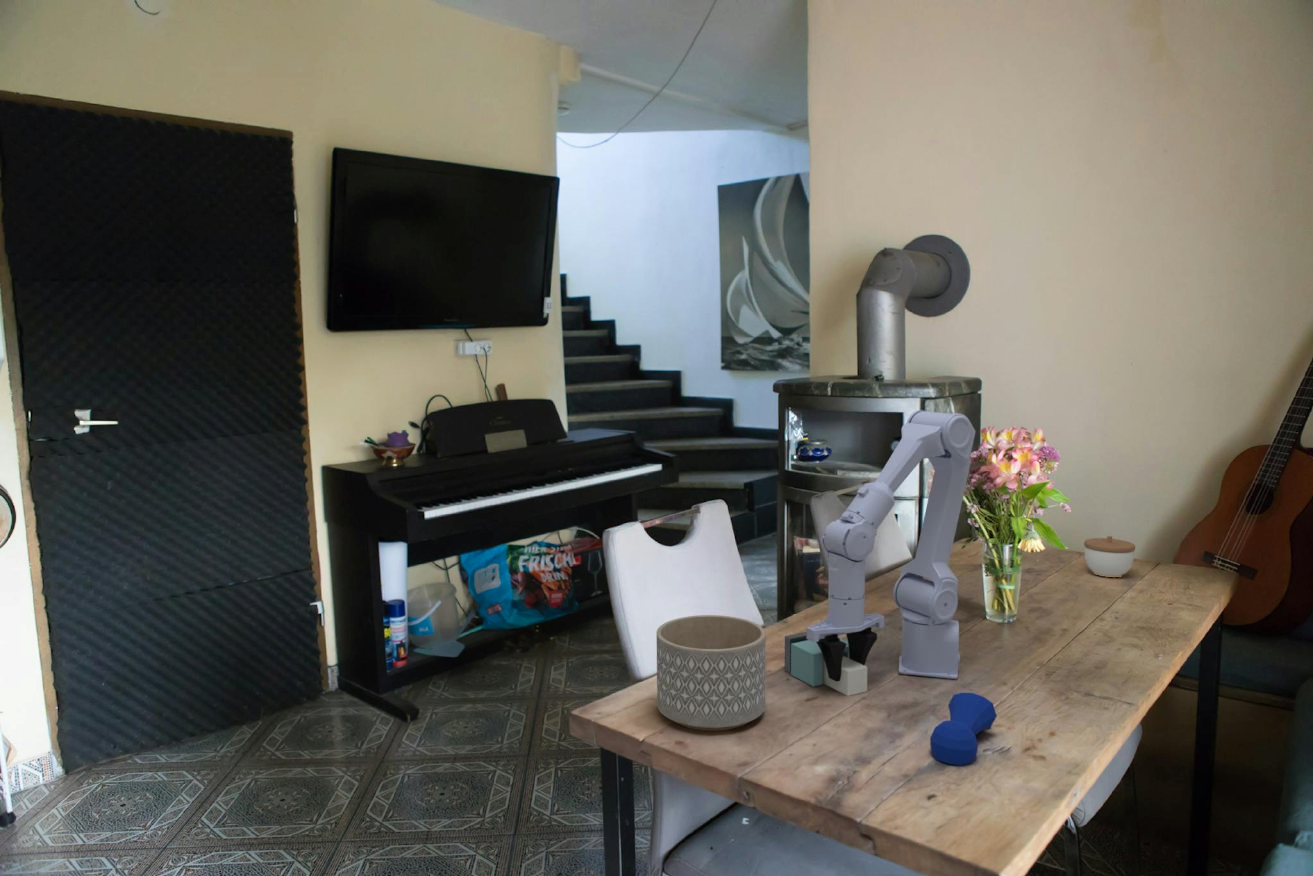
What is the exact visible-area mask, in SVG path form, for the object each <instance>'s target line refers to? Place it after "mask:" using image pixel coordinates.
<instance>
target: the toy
mask: <svg viewBox="0 0 1313 876" xmlns="http://www.w3.org/2000/svg"><path fill="white" fill-rule="evenodd" d="M947 705H948V706H947V707H948V710H949V717H950V719H949V720H944V721H942V722H941V723H939V724H938V725H936V727H934V729H933V732H932V733H931V735H930V739H929V742H930V744H929V745H930V751H931V755H932V757H933V758H934V759H935V760H936V761H940V762H943V763H945V764H948V765H949V764H950V765H955V766H960V767H961V766H968V765H971V764H973V763H974V762H975V761H976V756H977V754H978V749H979V748H978V747H979V743H978V740H977V738H976V735H978V733H980V732H981V731H985V730H987V729H990V730H991V728H992V726H993V723H995V720H996V718H997V712H996V710H995V706H994V703H993V702H992V701H990V700H989V699H987V698H986V697H985V696H983V695H979V694H977V693H973V692H959V693H957V694H953V695H952V697H951V699H950V701H949V703H948V704H947Z"/></svg>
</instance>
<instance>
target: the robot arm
mask: <svg viewBox="0 0 1313 876" xmlns="http://www.w3.org/2000/svg"><path fill="white" fill-rule="evenodd" d="M900 432H901V439H900V441H899V443H898V444H897V445H896V447H895V449H894V451H893V452H892V454H891V455H890V457H889V459H888V460H887V462H886V464H885V465H884V467H883V468H882V470H881V472H880V474H878V476H877V479H876V480H875V481H874V482H869V483H868V482H867V483H865V484H864V485H863V486H860V487H859V488H858V490H857V491H856V493H857V494H856V495H855V497H854V498H853V500H852V501H851V502H850V503H849V506H847V508H846V510H845V511H844V512H843V513H842V514H841V516H840V517H839V519H835V520H834V521H832V522H830V523H829V524H828V525H826V528H825V529H824V532H823V536H822V537H820V543H821V546H822V548H823V550H824V551H825V553H826V561H827V562H828V592H827V593H828V599H827V600H828V602H827V604H828V607H827V608H828V609H827V614H828V615H826V619H825V620H823V621H821V622H818V623H816V624H813V625H811V626H807V627H806V632H807V635H806V639H808V640H810V641H812V642H816V643H817V644H818V646H819V648H820V650H821V652H822V655H823V657H824V660H825V664H826V667H827V671H828V676H829V678H830V679H832V680H834V681H836V682H837V681H840V678H841V668H842V658H843V653H844V650H845V647H846V645H847V644H846V643H844V642H842V641H840V638H841V637H839V636H842V635H846V639H847V640H846V641H848V645H849V659H851V660H853V661H855V662H858V663H860V664H862V665H864V666H866V663H867V659H868V656H869V653H870V652H871V650H872V647H873V646H874V645H875V643H876V642H877V639H878V633H877V632H875V631H872V629H874V628H878V629H883V628H885V616H884V615H882V614H879V613H871V614H870V613H869V614H866V613H865V604H866V603H865V601H866V599H865V598H866V597H865V596H866V595H865V594H866V593H865V591H866V590H865V587H866V584H865V583H866V582H865V581H866V558H868V556H869V555H870V554H871V553H872V552H873V550H874V546H875V540H876V539H875V538H876V536H877V534H878V533H877V532H878V528H879V527H880V526H881V525H882V523H883V522H884V520H885V519H886V518H887V516H888V514H889V513H890V512H891V510H892V509H893V508H894V506H895V503H896V501H895V497H894V494H895V492H896V491H897V490H898V489H899V488H900V486H901V485H902V484H903V483H904V482H905V480H906V479H907V478H908V477H909V475H910V474H911V473H912V472H913V471H914V469H916V467H917V466H918V465H919V464H920V462H921V461H922V460H924V459H928V460H929V462H930V463H931V465H932V467H933V469H934V472H933V476H932V480H931V485H930V490H929V493H928V497H927V498H928V499H927V504H926V508H925V513H924V517H923V522H922V526H921V530H920V533H919V534H920V536H919V539H918V544H917V549H916V554H915V557H914V558H913V559H912V560H910V561H909V562H906V563H905V564H904V565H903V566H902V568H901V573H900V575H899V577H898V579H897V580H896V582H895V584H894V587H893V591H892V599H893V602H894V604H895V605H896V606H897V607H898V608H899V614H900V615H902V618H901V619H902V623H901V624H902V625H901V629H902V630H901V633H902V634H901V655H899V661H898V673H899V674H900V675H910V676H920V677H932V678H942V679H953V680H957V679H959V665H960V664H961V663H960V662H961V654H960V652H959V647H960V646H959V644H960V641H959V639H960V633H959V632H960V627H959V625H960V624H959V620H954V619H952V618H953V617H954V615H955V613H956V611H957V608H958V604H959V600H958V599H959V598H958V585H959V580H958V578H957V577H956V575H955V574H954V573H953V571H952V570H951V568H950V567H949V563H950V559H951V555H952V554H951V553H952V550H953V546H954V545H953V544H954V540H955V536H956V532H957V526H958V523H959V518H960V513H961V509H962V506H963V505H962V504H963V499H964V495H965V491H966V487H967V481H968V478H969V472H970V467H971V454H972V449H973V446H974V440H975V435H976V430H975V428H974V427H973V424H972V423H971V421H970V419H969V418H968V417H967V416H966V415H965V414H962V413H956V412H955V413H947V412H937V411H936V412H935V411H927V410H924V409H918V410H915V411H913V412H912V413H911V414H910V415H909V417H908V419H907V421H906V422H905V423H904V425H902V427H901V431H900ZM838 637H839V638H838Z"/></svg>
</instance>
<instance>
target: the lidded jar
mask: <svg viewBox="0 0 1313 876" xmlns="http://www.w3.org/2000/svg"><path fill="white" fill-rule="evenodd" d="M1083 545H1084V546H1083V547H1084V559H1085V563H1086V565H1087V567H1088V568H1089V569H1090V570H1091V572H1093V573H1094V572H1096V573H1099V574H1106V575H1119V574H1124V575H1125V574H1126V573H1128V572H1129V571H1130V570H1131V568H1132V566H1133V562H1134V558H1135V550H1136V544H1134V543H1133V542H1130V541H1127V540H1123V539H1118V538H1113V536H1112V535H1107V536H1106V537H1095V538H1087V539H1085V540H1084V542H1083Z"/></svg>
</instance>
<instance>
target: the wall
mask: <svg viewBox="0 0 1313 876" xmlns="http://www.w3.org/2000/svg"><path fill="white" fill-rule="evenodd" d="M806 635H807V631H804V632H799V633H794V634H789V635H784V671H785V672H787V673H789V674H791V644H792V643H797V642H802V641H807V640H808V639H806Z"/></svg>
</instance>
